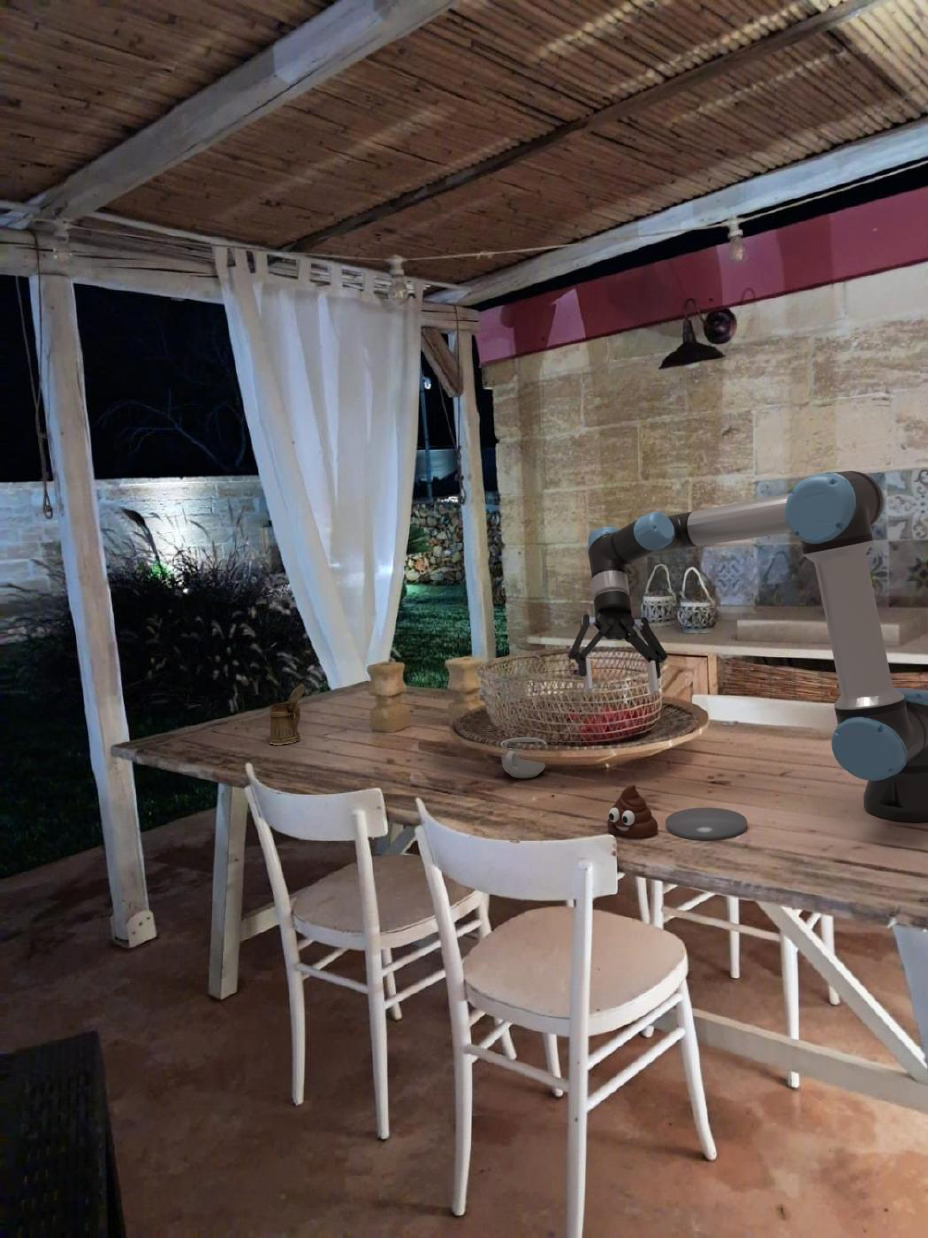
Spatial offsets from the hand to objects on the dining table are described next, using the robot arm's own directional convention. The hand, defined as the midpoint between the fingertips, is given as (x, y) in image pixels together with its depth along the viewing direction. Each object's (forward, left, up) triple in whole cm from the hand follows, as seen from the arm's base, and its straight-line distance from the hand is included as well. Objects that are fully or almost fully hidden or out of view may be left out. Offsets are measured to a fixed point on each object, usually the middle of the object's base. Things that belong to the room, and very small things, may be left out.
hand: (622, 692), depth 184 cm
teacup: (+21, -31, -25) cm, 45 cm away
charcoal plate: (-13, +10, -25) cm, 30 cm away
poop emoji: (+1, +10, -25) cm, 27 cm away
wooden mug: (+88, -83, -25) cm, 123 cm away
